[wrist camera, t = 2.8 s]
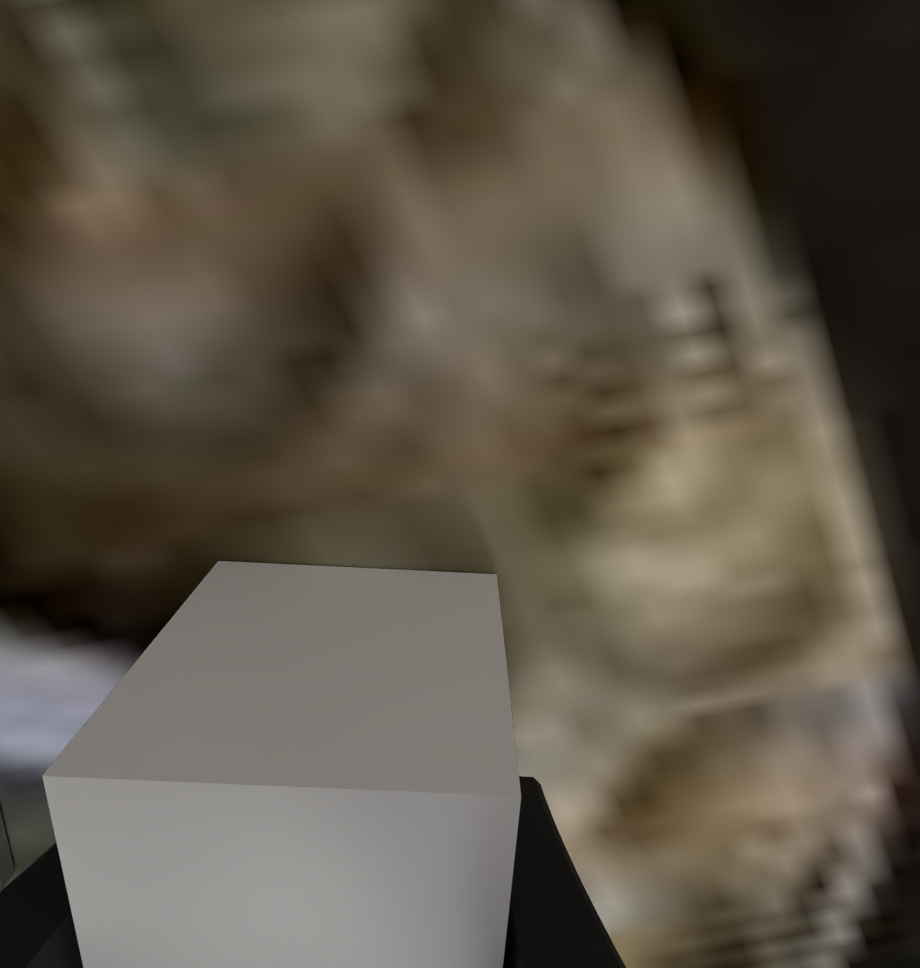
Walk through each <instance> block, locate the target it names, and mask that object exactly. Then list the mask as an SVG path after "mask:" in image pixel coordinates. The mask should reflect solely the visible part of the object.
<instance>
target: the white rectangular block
mask: <svg viewBox="0 0 920 968" xmlns="http://www.w3.org/2000/svg"><path fill="white" fill-rule="evenodd" d="M42 777H43V782H44V787H45V791H46V796H47V800H48V805H49V810H50V814H51V819H52V824H53V828H54V833H55V838H56V842H57V847H58V852H59V856H60V861H61V866H62V870H63V875H64V880H65V884H66V889H67V893H68V898H69V903H70V907H71V912H72V917H73V921H74V926H75V931H76V935H77V940H78V945H79V949H80V954H81V959H82V963H83V968H503V961H504V952H505V942H506V933H507V924H508V915H509V905H510V896H511V887H512V877H513V868H514V859H515V850H516V840H517V831H518V822H519V813H520V803H521V790H520V781H519V772H518V763H517V754H516V745H515V736H514V727H513V718H512V709H511V700H510V690H509V681H508V672H507V663H506V654H505V645H504V636H503V627H502V618H501V609H500V600H499V591H498V582H497V574H481V573H460V572H439V571H418V570H397V569H376V568H355V567H334V566H313V565H293V564H272V563H251V562H230V561H218V562H217V563H216V564H215V566H214V567H213V568H212V569H211V570H210V572H209V573H208V574H207V575H206V577H205V578H204V579H203V580H202V581H201V583H200V584H199V585H198V586H197V588H196V589H195V590H194V591H193V592H192V594H191V595H190V596H189V597H188V599H187V600H186V601H185V602H184V603H183V605H182V606H181V607H180V608H179V610H178V611H177V612H176V613H175V614H174V616H173V617H172V618H171V619H170V621H169V622H168V623H167V624H166V625H165V627H164V628H163V629H162V630H161V632H160V633H159V634H158V635H157V636H156V638H155V639H154V640H153V641H152V643H151V644H150V645H149V646H148V647H147V649H146V650H145V651H144V652H143V654H142V655H141V656H140V657H139V658H138V660H137V661H136V662H135V663H134V665H133V666H132V667H131V668H130V669H129V671H128V672H127V673H126V674H125V676H124V677H123V678H122V679H121V680H120V682H119V683H118V684H117V685H116V687H115V688H114V689H113V690H112V691H111V693H110V694H109V695H108V696H107V697H106V699H105V700H104V701H103V702H102V704H101V705H100V706H99V707H98V708H97V710H96V711H95V712H94V713H93V715H92V716H91V717H90V718H89V719H88V721H87V722H86V723H85V724H84V726H83V727H82V728H81V729H80V730H79V732H78V733H77V734H76V735H75V737H74V738H73V739H72V740H71V741H70V743H69V744H68V745H67V746H66V748H65V749H64V750H63V751H62V752H61V754H60V755H59V756H58V757H57V759H56V760H55V761H54V762H53V763H52V765H51V766H50V767H49V768H48V770H47V771H46V772H45V773H44V774H43V776H42Z"/></svg>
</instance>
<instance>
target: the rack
mask: <svg viewBox="0 0 920 968" xmlns="http://www.w3.org/2000/svg"><path fill="white" fill-rule="evenodd" d="M14 872H15V869H14V864H13V860H12V856H11V852H10V848H9V844H8V840H7V836H6V831H5V827H4V823H3V819H2V815H1V811H0V891H1V890H2V889H3V887H4V886H5V884H6V883H7V882H8V880H9V879H10V878H11V876H12V875H13V874H14Z"/></svg>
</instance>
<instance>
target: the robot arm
mask: <svg viewBox="0 0 920 968" xmlns="http://www.w3.org/2000/svg"><path fill="white" fill-rule="evenodd" d="M519 781H520V790H521V803H520V813H519V822H518V831H517V840H516V850H515V859H514V868H513V877H512V887H511V896H510V905H509V915H508V924H507V933H506V942H505V952H504V961H503V968H626V967H625V965H624V963H623V961H622V959H621V958H620V956H619V954H618V952H617V950H616V948H615V947H614V945H613V943H612V941H611V939H610V937H609V935H608V933H607V931H606V929H605V927H604V925H603V923H602V921H601V919H600V918H599V916H598V914H597V912H596V910H595V908H594V906H593V904H592V902H591V900H590V898H589V896H588V894H587V892H586V890H585V888H584V886H583V884H582V882H581V880H580V878H579V876H578V874H577V872H576V869H575V867H574V865H573V863H572V861H571V858H570V856H569V854H568V852H567V850H566V848H565V845H564V843H563V841H562V839H561V836H560V834H559V832H558V829H557V827H556V824H555V822H554V820H553V817H552V815H551V812H550V810H549V807H548V804H547V802H546V799H545V796H544V794H543V791H542V788H541V785H540V783H539V782H538V781H537V780H536V779H535V778H534V777H520V776H519ZM0 968H83V963H82V959H81V954H80V949H79V945H78V940H77V935H76V931H75V926H74V921H73V917H72V912H71V907H70V903H69V898H68V893H67V889H66V884H65V880H64V875H63V870H62V866H61V861H60V856H59V852H58V847H57V842H56V843H55V844H54V845H53V846H52V847H51V848H49V849H48V850H47V851H46V852H45V853H44V854H43V855H41V856H40V857H39V858H38V859H37V860H36V861H35V862H34V863H32V864H31V865H30V866H29V867H28V868H27V869H26V870H24V871H23V872H22V873H21V874H20V875H19V876H18V877H16V878H15V879H14V880H13V881H12V882H11V883H10V884H8V885H7V886H6V887H5V888H4V889H3V890H2V891H0Z"/></svg>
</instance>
